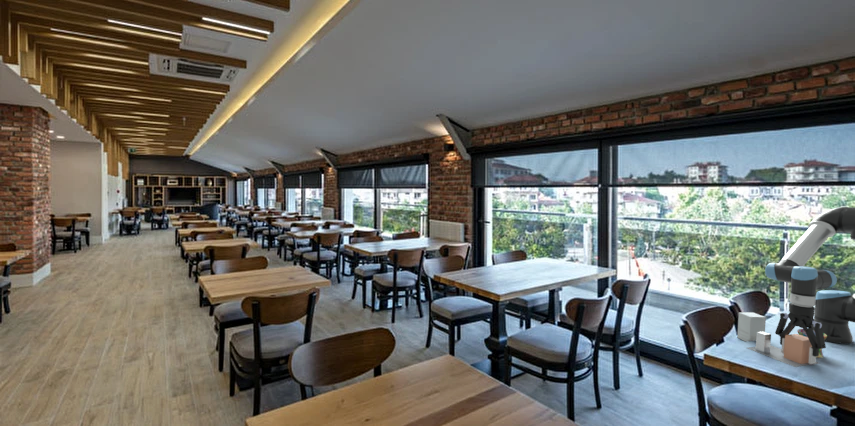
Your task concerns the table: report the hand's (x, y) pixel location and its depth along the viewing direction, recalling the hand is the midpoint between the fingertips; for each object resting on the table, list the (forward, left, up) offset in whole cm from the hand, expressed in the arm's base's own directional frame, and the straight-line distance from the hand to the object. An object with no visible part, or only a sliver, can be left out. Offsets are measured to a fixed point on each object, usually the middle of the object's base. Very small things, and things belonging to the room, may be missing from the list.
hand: (797, 358), depth 162 cm
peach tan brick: (0, 0, -1) cm, 1 cm away
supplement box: (-6, -23, -3) cm, 24 cm away
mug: (-12, -4, -3) cm, 12 cm away
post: (+5, -10, -1) cm, 11 cm away
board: (+1, -5, -2) cm, 6 cm away
